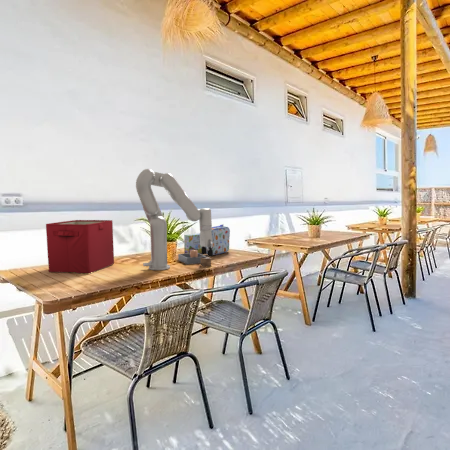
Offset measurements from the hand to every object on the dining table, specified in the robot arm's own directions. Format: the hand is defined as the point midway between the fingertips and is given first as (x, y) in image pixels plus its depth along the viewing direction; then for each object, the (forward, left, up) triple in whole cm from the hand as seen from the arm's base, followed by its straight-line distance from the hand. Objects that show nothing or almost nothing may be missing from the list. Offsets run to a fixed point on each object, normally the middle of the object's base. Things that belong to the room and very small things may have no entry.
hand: (207, 255), depth 209 cm
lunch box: (+24, +38, -7) cm, 46 cm away
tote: (-3, +18, -7) cm, 20 cm away
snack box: (+11, +48, -7) cm, 50 cm away
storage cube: (-70, +29, -7) cm, 76 cm away
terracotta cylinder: (-3, +15, -6) cm, 16 cm away
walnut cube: (-1, 0, -7) cm, 7 cm away
